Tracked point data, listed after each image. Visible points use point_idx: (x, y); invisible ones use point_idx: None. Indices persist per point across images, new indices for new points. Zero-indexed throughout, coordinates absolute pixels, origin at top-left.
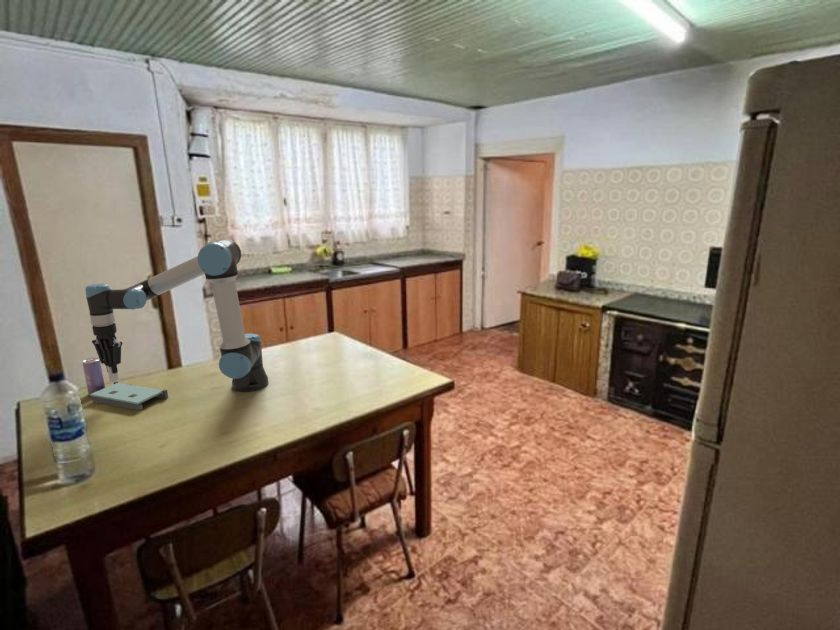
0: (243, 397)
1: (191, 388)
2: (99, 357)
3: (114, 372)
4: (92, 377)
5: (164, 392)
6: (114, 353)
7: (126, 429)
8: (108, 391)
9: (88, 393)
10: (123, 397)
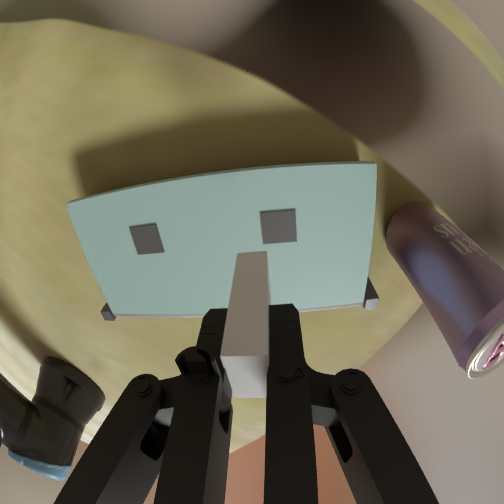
0: (27, 337)
1: (135, 356)
2: (391, 437)
3: (206, 317)
4: (444, 257)
5: (104, 307)
6: (75, 499)
7: (23, 100)
8: (316, 225)
9: (430, 206)
10: (163, 207)
